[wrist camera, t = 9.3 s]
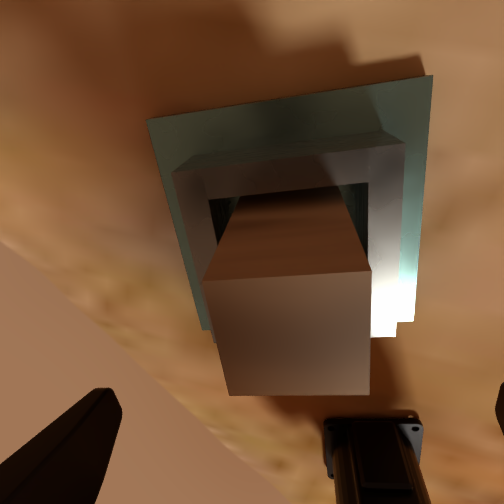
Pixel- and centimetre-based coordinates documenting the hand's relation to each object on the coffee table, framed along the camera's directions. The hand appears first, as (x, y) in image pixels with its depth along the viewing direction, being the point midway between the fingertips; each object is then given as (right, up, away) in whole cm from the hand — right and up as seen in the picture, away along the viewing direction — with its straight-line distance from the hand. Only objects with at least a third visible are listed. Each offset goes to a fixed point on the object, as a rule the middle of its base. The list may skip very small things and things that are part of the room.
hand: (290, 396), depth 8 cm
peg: (+1, +4, +9) cm, 10 cm away
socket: (+1, +5, +10) cm, 11 cm away
